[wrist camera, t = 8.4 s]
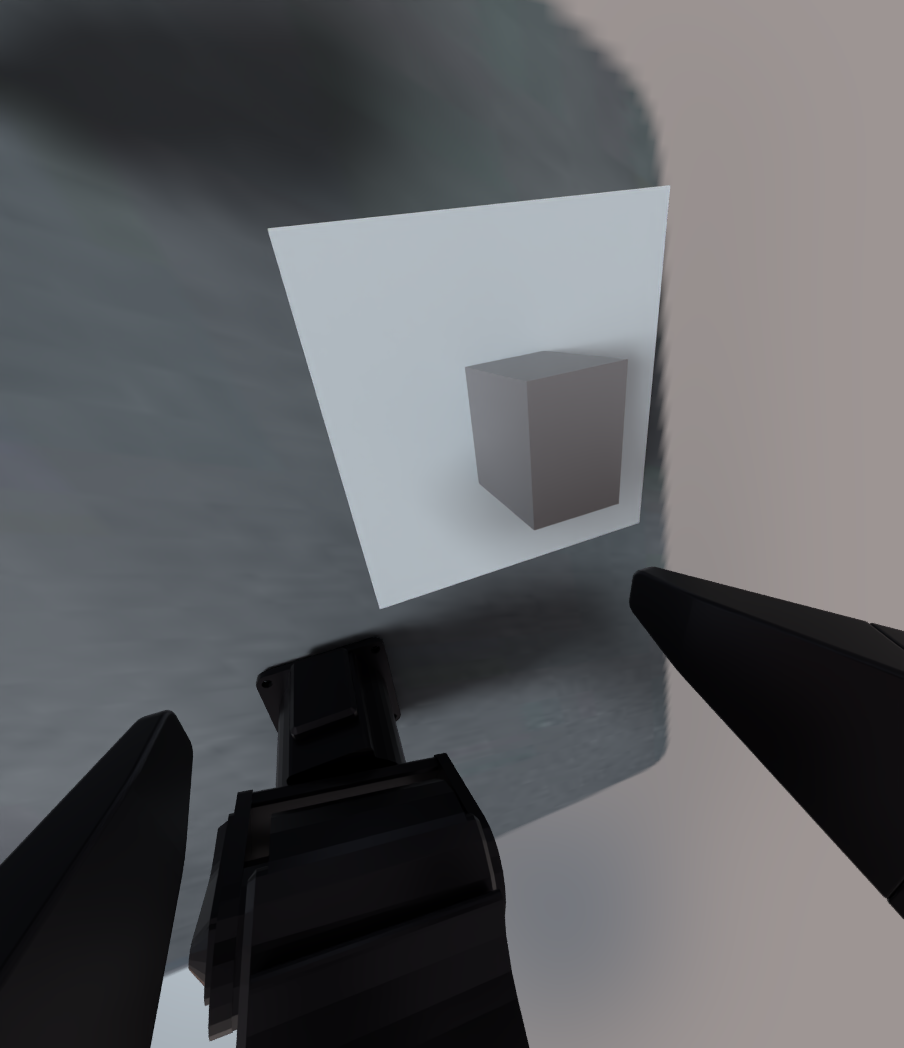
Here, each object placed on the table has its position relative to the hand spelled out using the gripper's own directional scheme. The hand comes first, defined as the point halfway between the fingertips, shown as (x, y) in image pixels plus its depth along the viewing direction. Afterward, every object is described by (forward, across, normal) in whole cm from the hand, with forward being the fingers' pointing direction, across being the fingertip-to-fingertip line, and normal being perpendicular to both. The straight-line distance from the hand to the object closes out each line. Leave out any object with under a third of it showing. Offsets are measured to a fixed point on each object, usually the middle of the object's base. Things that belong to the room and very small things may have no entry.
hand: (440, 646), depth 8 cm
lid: (+8, -5, -2) cm, 10 cm away
